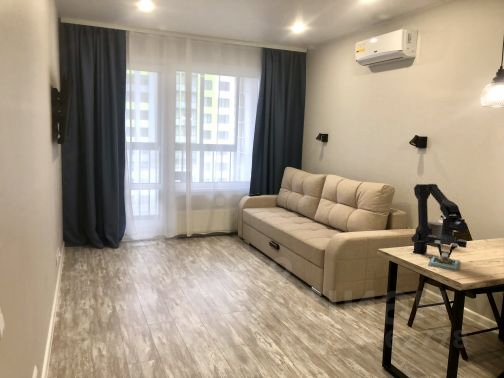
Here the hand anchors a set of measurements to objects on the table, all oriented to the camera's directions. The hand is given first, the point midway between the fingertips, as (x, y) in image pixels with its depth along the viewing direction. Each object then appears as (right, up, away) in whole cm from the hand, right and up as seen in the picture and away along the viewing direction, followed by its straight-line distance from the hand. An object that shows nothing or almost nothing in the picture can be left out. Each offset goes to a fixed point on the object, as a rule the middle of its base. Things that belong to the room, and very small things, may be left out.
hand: (444, 256), depth 215 cm
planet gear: (0, -3, 0) cm, 3 cm away
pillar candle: (+12, +1, +40) cm, 42 cm away
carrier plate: (+1, -4, +2) cm, 5 cm away
